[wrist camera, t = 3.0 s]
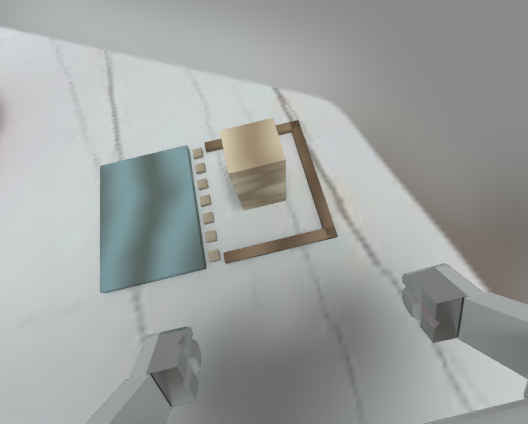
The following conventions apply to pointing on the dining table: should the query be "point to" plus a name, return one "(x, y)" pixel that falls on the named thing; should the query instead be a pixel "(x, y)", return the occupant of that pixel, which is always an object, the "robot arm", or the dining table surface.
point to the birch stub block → (255, 163)
